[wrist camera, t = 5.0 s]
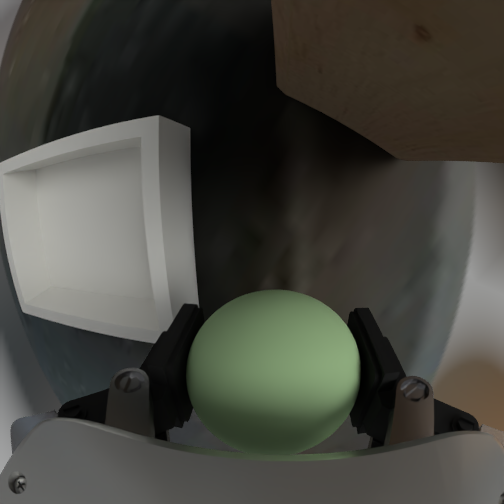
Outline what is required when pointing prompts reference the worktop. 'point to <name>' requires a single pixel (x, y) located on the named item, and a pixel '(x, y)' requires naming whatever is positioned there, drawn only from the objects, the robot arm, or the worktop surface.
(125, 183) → the serving dish
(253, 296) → the green ball
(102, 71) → the worktop surface
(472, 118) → the wooden block
